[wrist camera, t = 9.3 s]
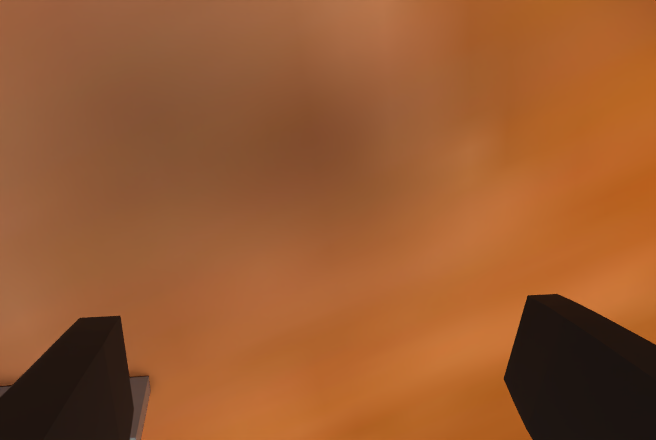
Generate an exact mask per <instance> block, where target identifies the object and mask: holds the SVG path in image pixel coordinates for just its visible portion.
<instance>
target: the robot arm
mask: <svg viewBox="0 0 656 440" xmlns="http://www.w3.org/2000/svg"><path fill="white" fill-rule="evenodd" d="M504 381H505V383H506V385H507V387H508V390H509V392H510V394H511V397H512V399H513V401H514V404H515V406H516V408H517V410H518V412H519V414H520V416H521V419H522V421H523V423H524V425H525V427H526V429H527V431H528V432H529V434H530V436H531V438H532V439H533V440H656V345H655V344H653V343H651V342H650V341H648V340H646V339H644V338H642V337H640V336H638V335H637V334H635V333H633V332H631V331H629V330H627V329H626V328H624V327H622V326H620V325H618V324H616V323H615V322H613V321H611V320H609V319H607V318H605V317H603V316H601V315H600V314H598V313H596V312H594V311H592V310H590V309H588V308H586V307H584V306H582V305H580V304H578V303H576V302H574V301H572V300H570V299H567V298H565V297H563V296H561V295H558V294H548V295H528V296H527V300H526V303H525V306H524V310H523V313H522V317H521V320H520V324H519V327H518V331H517V334H516V338H515V341H514V345H513V348H512V352H511V355H510V359H509V362H508V366H507V369H506V373H505V376H504ZM133 413H134V405H133V398H132V391H131V385H130V378H129V371H128V364H127V358H126V351H125V344H124V337H123V331H122V324H121V317H120V316H108V317H88V318H79V319H78V320H77V321H76V322H75V323H74V324H73V325H72V326H71V327H70V328H69V329H68V330H67V331H66V332H65V333H64V334H63V335H62V336H61V337H60V338H59V339H58V340H57V341H56V342H55V343H54V344H53V345H52V346H51V347H50V348H49V349H48V350H47V351H46V352H45V353H44V354H43V355H42V356H41V357H40V358H39V359H38V360H37V361H36V362H35V363H34V364H33V365H32V366H31V367H30V368H29V369H28V370H27V371H26V372H25V373H24V374H23V375H22V376H21V377H20V378H19V379H18V380H17V381H16V382H15V383H14V384H13V385H12V386H11V387H10V388H9V389H8V390H7V391H6V392H5V393H4V394H3V395H2V396H1V397H0V440H130V435H131V427H132V420H133Z"/></svg>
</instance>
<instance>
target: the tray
mask: <svg viewBox="0 0 656 440" xmlns="http://www.w3.org/2000/svg"><path fill="white" fill-rule="evenodd" d="M130 385H131V391H132V398H133V405H134V413H133V420H132V427H131V435H130V440H141V436H142V431H143V426H144V421H145V416H146V411H147V406H148V401H149V396H150V384H149V376H146V377H132V378H130ZM10 387H11V386H5V387H0V397H1V396H2V395H3V394H4V393H5V392H6V391H7V390H8V389H9V388H10Z"/></svg>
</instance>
